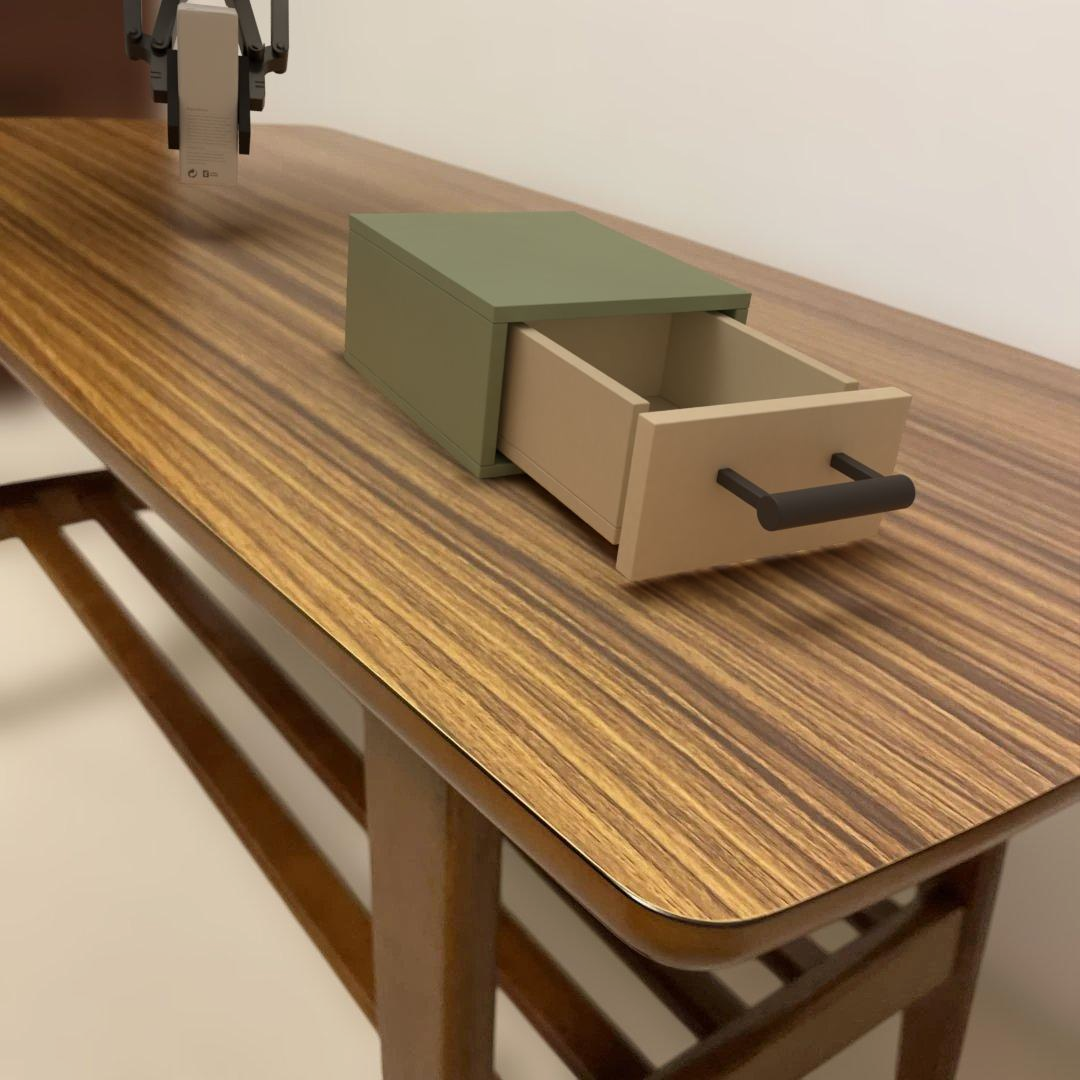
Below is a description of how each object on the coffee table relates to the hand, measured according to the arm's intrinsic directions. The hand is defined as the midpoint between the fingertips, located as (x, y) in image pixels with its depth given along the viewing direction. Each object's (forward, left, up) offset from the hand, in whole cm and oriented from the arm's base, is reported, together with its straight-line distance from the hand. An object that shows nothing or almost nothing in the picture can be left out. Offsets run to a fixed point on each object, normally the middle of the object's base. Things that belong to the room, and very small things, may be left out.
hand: (209, 140), depth 88 cm
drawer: (+41, -30, -7) cm, 51 cm away
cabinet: (+30, -19, -8) cm, 37 cm away
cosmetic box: (-2, +3, -4) cm, 5 cm away
